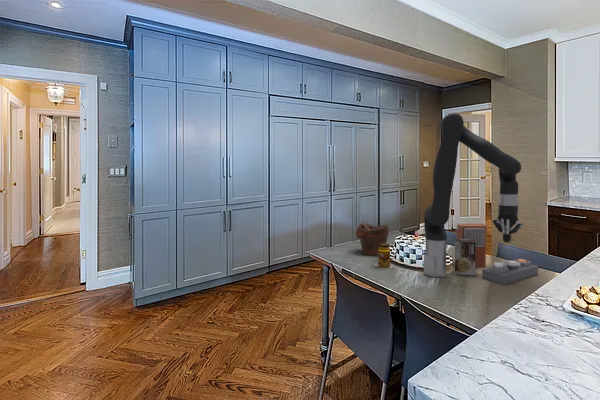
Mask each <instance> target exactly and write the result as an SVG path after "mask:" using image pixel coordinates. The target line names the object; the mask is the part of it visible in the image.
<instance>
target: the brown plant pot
mask: <svg viewBox="0 0 600 400" xmlns="http://www.w3.org/2000/svg"><path fill="white" fill-rule="evenodd" d="M389 232H390V227H389V224H384V225H377V226H376V225H372V224H366V223H361V224H359V225H358V226H357V228H356V231H355V235H356V238H357V240H359V241H360V245H361V246H360V247H361V250H362V253H363V254H364V255H368V256H378V249H379V244H381V243H386V244H387V240H388V236H389V234H390V233H389Z"/></svg>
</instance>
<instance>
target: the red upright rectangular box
mask: <svg viewBox="0 0 600 400" xmlns="http://www.w3.org/2000/svg"><path fill="white" fill-rule="evenodd" d="M456 225H457V226H455V228H454V229H455V230H456V239H473V240H475V241H476V268H486V264H487V236H488V235H487V232H488V231H487V230H488V228H487V224H485V223H457V224H456ZM454 261H455V258H454Z"/></svg>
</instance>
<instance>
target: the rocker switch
mask: <svg viewBox="0 0 600 400" xmlns="http://www.w3.org/2000/svg"><path fill="white" fill-rule="evenodd" d="M500 263H503V264H505V265H509V266H520V263H519V262H515V261H513V260H501V262H500Z"/></svg>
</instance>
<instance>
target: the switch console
mask: <svg viewBox="0 0 600 400" xmlns="http://www.w3.org/2000/svg"><path fill="white" fill-rule="evenodd" d="M518 259H519V258H518ZM518 259H514V260H512V261H515V262H518ZM519 263H520V266H509V265H505V264H504V265H503V269H497V268H494V265H490V266H489V267H487V268H484V269H482V270H481V271H482V273H481V274H482V275H481V278H482V279H483V280H486V281H490V282H493V283H496V284H499V285H507V284H511V283H515V282H518V281H522V280H523V279H527V278H530V277H534V276H537V275H538V274H539V266H538V265H536V264H532V261H531V260H527V262H526V263H523V262H519Z"/></svg>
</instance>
